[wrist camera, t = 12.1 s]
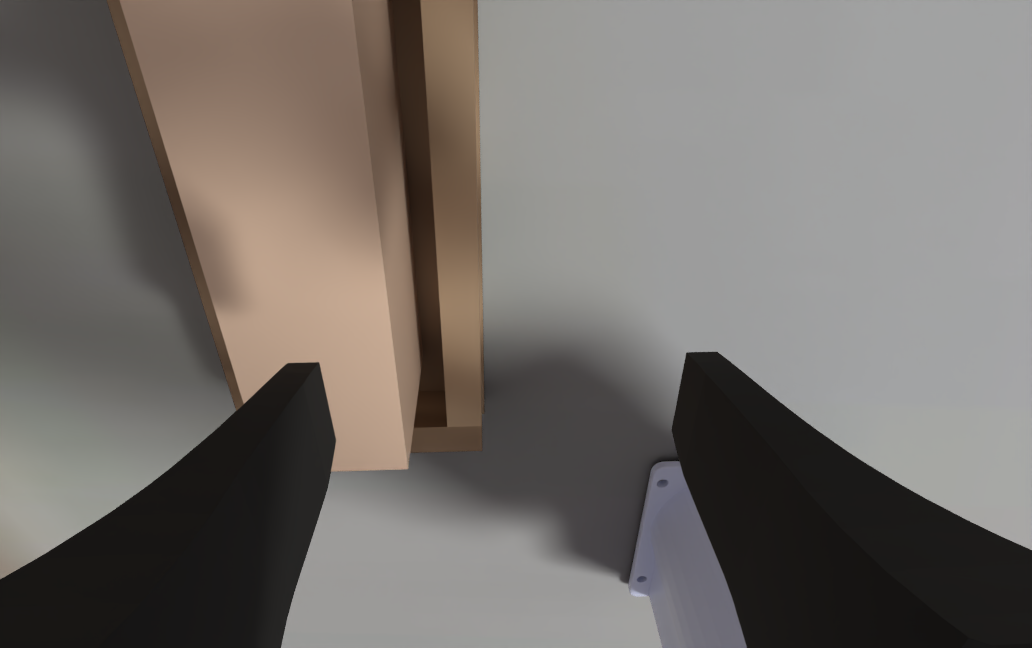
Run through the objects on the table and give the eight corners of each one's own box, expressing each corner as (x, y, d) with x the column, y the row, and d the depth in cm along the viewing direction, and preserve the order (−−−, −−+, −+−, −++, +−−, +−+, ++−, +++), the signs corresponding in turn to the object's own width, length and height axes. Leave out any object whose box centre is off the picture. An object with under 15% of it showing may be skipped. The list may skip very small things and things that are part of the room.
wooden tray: (484, 400, 24) (485, 450, 22) (271, 405, 24) (248, 457, 21) (474, -183, 14) (473, -207, 12) (108, -194, 14) (31, -220, 11)
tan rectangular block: (423, 355, 22) (408, 469, 17) (310, 357, 21) (265, 473, 17) (385, -77, 15) (341, -82, 10) (217, -80, 14) (93, -87, 10)
